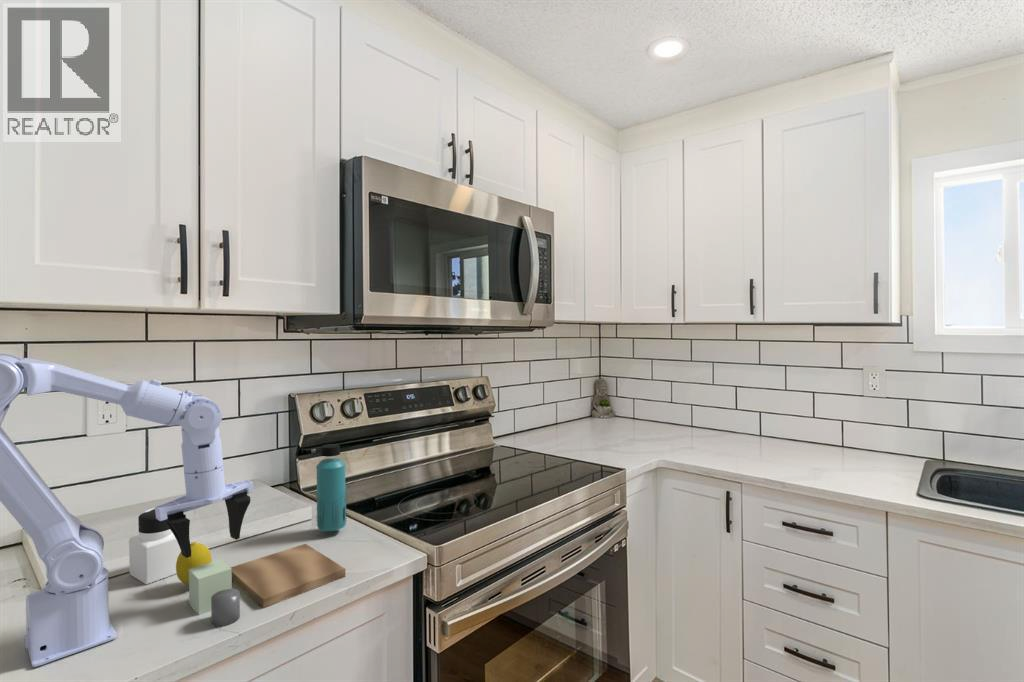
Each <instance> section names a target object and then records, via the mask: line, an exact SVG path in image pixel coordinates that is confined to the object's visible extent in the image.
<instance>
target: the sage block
mask: <svg viewBox="0 0 1024 682" xmlns="http://www.w3.org/2000/svg"><path fill="white" fill-rule="evenodd" d="M232 581H233V580H232V569H231V568H230V565H228V564H227V563H226V562H224V561H223V559H217V560H215V561H212V562H211V563H208V564H204V565H201V566H198V567H195V568H191V569H189V584H188V592H189V593H188V599H189V600H188V601H189V602H188V603H189V605H190V606H191V608H193V610H194V611H195V612H196V613H197V615H199V616H200V615H204V614H206V613H209V612H211V597H212V596H213V595H214V594H215V593H217V592H219V591H222V590H226V589H233V586H232V585H233V582H232Z"/></svg>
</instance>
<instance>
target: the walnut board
mask: <svg viewBox="0 0 1024 682" xmlns="http://www.w3.org/2000/svg"><path fill="white" fill-rule="evenodd" d="M229 567H230V566H229ZM230 568H231V569H232V579H233V580H234V581H235V582H236V583H237V584H236V583H235V582H234V581H233V580H232V581H233V582H234V583H235V584H236V585H238V586H239V588H241V589H242V590H243V591H244V590H245V591H246V592H247V593H248V594H247V593H246V592H245V591H244V592H245V593H246V594H247V595H248V596H250V598H252V599H253V600H254V601H255V602H256V603H257V604H259V606H260V607H262V608H263V609H265V608H267V607H270V606H272V605H275V604H278V603H280V601H281V602H283V601H285V599H286V600H288V599H291V598H293V597H296V596H298V594H299V595H301V594H303V592H304V593H305V592H308V590H309V591H311V589H312V590H314V589H316V587H317V588H319V587H322V586H324V584H325V585H327V584H330V583H333V582H334V580H335V581H338V580H340V579H343V578H345V577H346V568H345V567H343V566H342V565H340V564H339V563H337V562H336V561H334V560H333V559H330V558H329V557H327V556H326V555H324V554H323V553H321V552H320V551H318V550H316V549H315V548H313V547H312V546H310V545H309V544H307V543H304V544H300V545H297V546H294V547H290V548H289V549H288V548H287V549H285V550H282V551H278V552H275V553H271V554H268V555H266V556H261V557H260V558H256V559H253V560H250V561H247V562H244V563H240V564H237V565H234V566H231V567H230ZM337 579H338V580H337ZM329 582H330V583H329ZM326 583H327V584H326ZM321 585H322V586H321ZM313 588H314V589H313ZM295 595H296V596H295ZM290 597H291V598H290ZM287 598H288V599H287ZM282 600H283V601H282Z"/></svg>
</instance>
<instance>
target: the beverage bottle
mask: <svg viewBox="0 0 1024 682" xmlns="http://www.w3.org/2000/svg"><path fill="white" fill-rule="evenodd" d="M340 448H341V447H340V444H337V443H329V444H324V445H322V446H321V451H320V456H321V457H326V458H324V459H321V460H320V461H319V462H318V463H317V464H316V466H315V469H316V494H315V496H316V508H315V509H316V515H315V516H316V526H317V528H318V530H320V531H323V532H333V531H339V530H341V529H343V528H344V527H346V524H347V521H348V519H347V516H348V513H347V510H348V509H347V508H348V507H347V506H348V505H347V503H348V502H347V482H346V463H345V462H344V461H343V460H342V459H341V458H339V457H338V458H337V456H339V455H341V449H340ZM327 457H328V458H327Z"/></svg>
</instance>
